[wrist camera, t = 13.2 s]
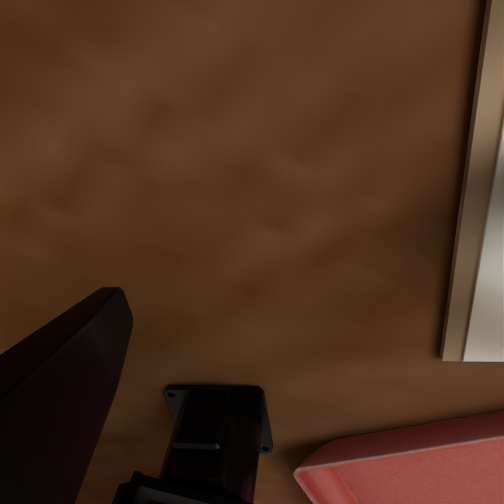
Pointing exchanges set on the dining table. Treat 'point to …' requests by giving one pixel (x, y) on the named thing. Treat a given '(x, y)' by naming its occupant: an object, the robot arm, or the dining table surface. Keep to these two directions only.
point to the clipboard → (481, 215)
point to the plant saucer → (411, 465)
